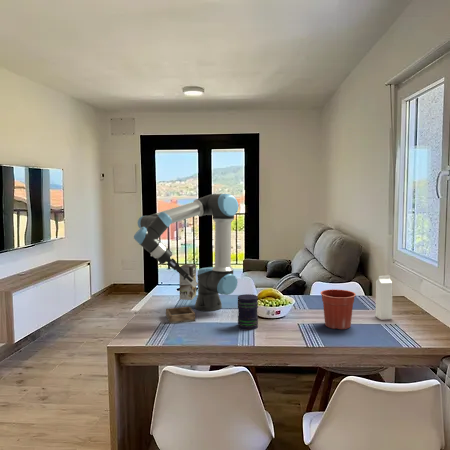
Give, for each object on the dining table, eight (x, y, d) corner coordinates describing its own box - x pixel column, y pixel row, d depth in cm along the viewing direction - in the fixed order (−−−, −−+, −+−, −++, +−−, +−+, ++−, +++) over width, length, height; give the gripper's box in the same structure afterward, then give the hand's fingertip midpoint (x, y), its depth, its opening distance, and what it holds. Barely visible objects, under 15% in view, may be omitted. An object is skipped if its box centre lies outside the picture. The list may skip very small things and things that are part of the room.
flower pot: (354, 332, 193) (354, 298, 192) (318, 329, 199) (318, 295, 197) (356, 322, 208) (356, 290, 207) (322, 319, 214) (322, 288, 213)
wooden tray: (190, 313, 227) (189, 306, 227) (195, 321, 214) (195, 313, 213) (166, 316, 224) (165, 308, 223) (170, 323, 210) (169, 315, 210)
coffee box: (192, 300, 201) (191, 267, 200) (179, 299, 203) (178, 266, 201) (196, 295, 210) (196, 264, 209) (184, 295, 212) (184, 263, 210)
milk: (375, 316, 218) (375, 274, 216) (386, 316, 218) (386, 274, 217) (380, 319, 212) (381, 276, 210) (392, 319, 212) (392, 276, 211)
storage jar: (234, 325, 206) (234, 295, 205) (252, 322, 210) (252, 293, 209) (243, 331, 197) (243, 300, 196) (261, 328, 201) (261, 297, 200)
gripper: (152, 255, 212) (183, 284, 217) (159, 262, 190) (193, 294, 195) (163, 244, 213) (193, 273, 218) (170, 250, 191) (204, 282, 196)
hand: (193, 283), depth 207 cm, fingers closed on coffee box, 10 cm apart
